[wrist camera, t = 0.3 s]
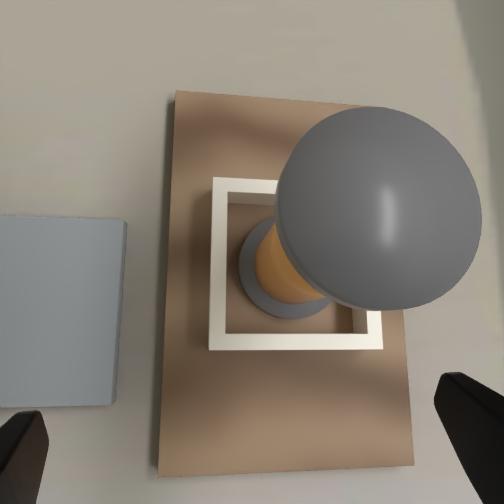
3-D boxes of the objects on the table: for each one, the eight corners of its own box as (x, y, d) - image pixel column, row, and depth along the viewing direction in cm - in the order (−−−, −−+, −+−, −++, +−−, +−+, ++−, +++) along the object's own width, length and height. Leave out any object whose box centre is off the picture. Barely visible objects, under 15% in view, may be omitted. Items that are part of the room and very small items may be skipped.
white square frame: (366, 347, 22) (382, 349, 20) (208, 348, 21) (209, 350, 19) (358, 197, 24) (372, 185, 22) (211, 189, 23) (213, 176, 21)
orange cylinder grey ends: (356, 278, 23) (520, 228, 11) (279, 340, 22) (373, 356, 10) (296, 200, 23) (393, 72, 12) (217, 255, 22) (237, 175, 10)
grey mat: (114, 401, 21) (110, 405, 20) (-88, 405, 19) (-104, 410, 18) (127, 224, 23) (123, 219, 22) (-57, 217, 21) (-69, 212, 20)
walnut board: (405, 459, 22) (414, 465, 21) (159, 470, 20) (157, 477, 19) (380, 115, 26) (387, 107, 26) (176, 99, 25) (175, 90, 24)
